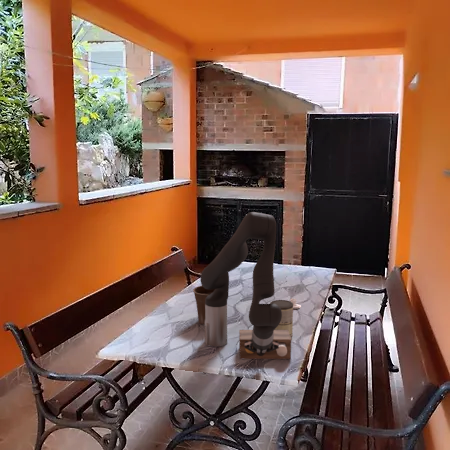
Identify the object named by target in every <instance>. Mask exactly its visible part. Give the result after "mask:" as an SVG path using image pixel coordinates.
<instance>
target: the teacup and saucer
mask: <svg viewBox="0 0 450 450" xmlns="http://www.w3.org/2000/svg"><path fill="white" fill-rule="evenodd" d="M289 301H290V302H292V303H293V310H297V309H301V307H302V305H301V304H298V303H297V299H296V298H290V300H289Z"/></svg>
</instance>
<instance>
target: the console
mask: <svg viewBox="0 0 450 450" xmlns="http://www.w3.org/2000/svg"><path fill="white" fill-rule="evenodd" d="M252 330H253V329H239V330H238V331H239V338H238V339H239V341H238V342H239V346H238V347H239V348H238V349H239V359H240V360H242V359H244V360H249V359H250V360H251V359H252V360H256V359H257V360H258V359H259V360H260V359H261V360H264V359H266V360H270V359H273V360H278V359H282V360H285V359H287V360H288V359H290V360H292V359H291V358H292V338H291V337H292V336H290V334H289V331H288V330H274V338H273V341H274V342H275V341H278V342H285V346H286V348H287V354H286V355H285V356H279V355H278V354H277V349H276V350H273V351H271V352H267V351H266V352H265V354H264V355H263V356H259V355H257V351H256V352H254V353H251V354H250V353H247V352H246V350H245V341H248V342H250V340H251V339H252Z"/></svg>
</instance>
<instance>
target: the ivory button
mask: <svg viewBox="0 0 450 450" xmlns="http://www.w3.org/2000/svg"><path fill="white" fill-rule="evenodd" d="M278 344H279V348H278V349H277V354H278V355H279V356H285V355H286V354H287V348H286V346H285V342H278Z"/></svg>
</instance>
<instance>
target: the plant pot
mask: <svg viewBox="0 0 450 450" xmlns="http://www.w3.org/2000/svg"><path fill="white" fill-rule="evenodd" d="M214 290H215V289H212V290H209V289H205V288H204V287H203V286H202V285H198V286H196V287H194V288H193V290H192V291H193V293H194V299H195V303H196V311H197V319H198V320H197V321H198V324H200V325H203V326H205V299H206V297H207V296H208V295H210V294H211V293H213V292H214Z"/></svg>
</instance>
